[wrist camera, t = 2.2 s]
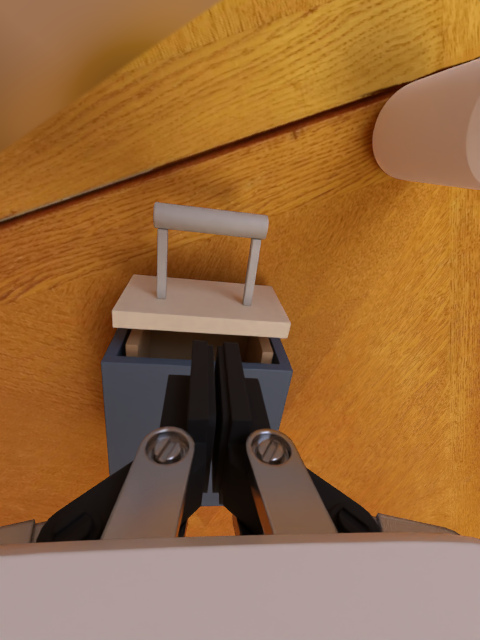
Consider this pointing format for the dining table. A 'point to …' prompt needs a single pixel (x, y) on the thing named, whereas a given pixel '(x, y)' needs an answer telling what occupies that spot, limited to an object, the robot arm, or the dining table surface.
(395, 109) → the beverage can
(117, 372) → the cabinet
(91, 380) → the dining table surface
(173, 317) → the drawer
